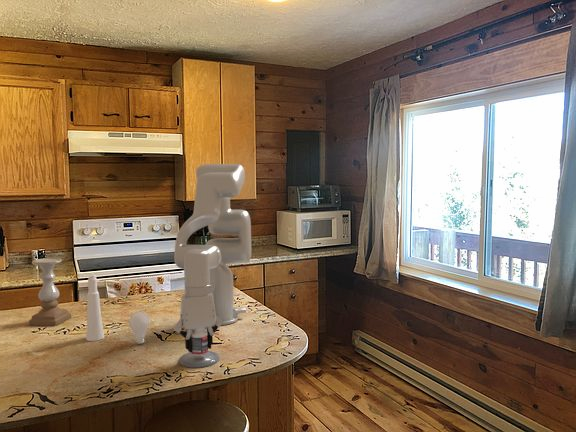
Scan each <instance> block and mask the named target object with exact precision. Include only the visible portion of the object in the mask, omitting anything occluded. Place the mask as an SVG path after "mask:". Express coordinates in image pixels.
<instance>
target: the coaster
mask: <svg viewBox="0 0 576 432" xmlns="http://www.w3.org/2000/svg"><path fill="white" fill-rule="evenodd" d="M178 360H179V361H178V363H179V365H180V366H182V367H185V368H190V369H200V368H207V367H210V366H212V365H215V364H217V363H218V362H219V361H220V355H219V354H218V353H217V352H214V351H211V350H208V353H207V354H206V355H203V356H193V355H191V352H189V351H188V352H186V353H183V354H182V355H181V356H180V357H179V359H178Z"/></svg>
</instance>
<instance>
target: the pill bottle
mask: <svg viewBox="0 0 576 432" xmlns="http://www.w3.org/2000/svg"><path fill="white" fill-rule="evenodd" d="M190 338H191V340H192V352H191V355H193V356H203V355H206V354H207V353H208V351H209V348H208V333H207V330H206V328H198V329H193V330H192V332H191V335H190Z"/></svg>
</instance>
